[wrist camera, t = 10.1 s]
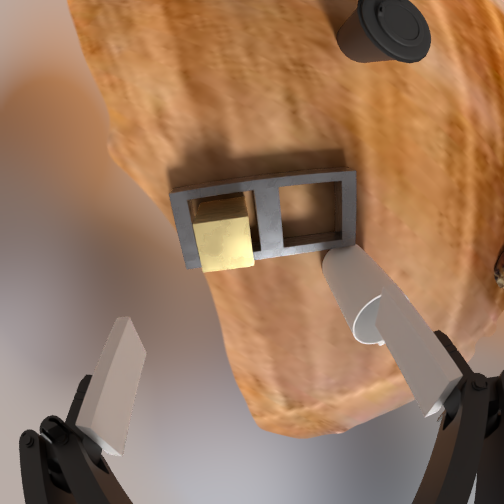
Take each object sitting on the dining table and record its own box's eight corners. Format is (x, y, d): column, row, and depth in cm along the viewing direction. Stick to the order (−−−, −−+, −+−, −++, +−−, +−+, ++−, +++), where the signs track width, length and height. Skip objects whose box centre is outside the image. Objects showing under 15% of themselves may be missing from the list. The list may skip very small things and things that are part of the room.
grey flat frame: (173, 188, 30) (168, 193, 27) (347, 166, 30) (356, 170, 28) (189, 259, 34) (186, 269, 31) (347, 237, 34) (355, 245, 32)
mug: (313, 251, 35) (347, 310, 24) (360, 231, 34) (408, 280, 23) (332, 308, 39) (361, 368, 28) (372, 289, 38) (411, 344, 27)
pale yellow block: (200, 202, 31) (192, 224, 25) (244, 196, 31) (248, 216, 25) (207, 242, 33) (203, 272, 27) (249, 237, 33) (254, 265, 27)
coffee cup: (316, 16, 22) (349, -19, 13) (375, 14, 21) (420, -10, 12) (337, 76, 25) (380, 62, 16) (394, 71, 25) (446, 63, 16)
